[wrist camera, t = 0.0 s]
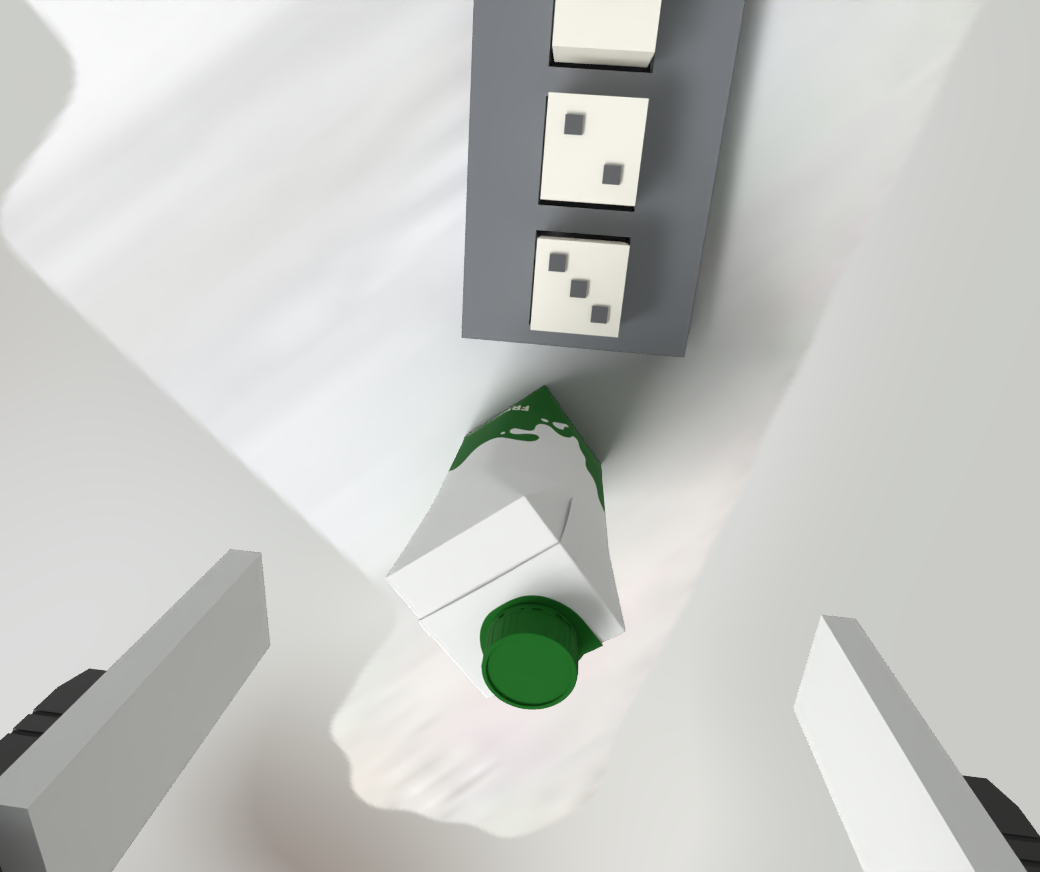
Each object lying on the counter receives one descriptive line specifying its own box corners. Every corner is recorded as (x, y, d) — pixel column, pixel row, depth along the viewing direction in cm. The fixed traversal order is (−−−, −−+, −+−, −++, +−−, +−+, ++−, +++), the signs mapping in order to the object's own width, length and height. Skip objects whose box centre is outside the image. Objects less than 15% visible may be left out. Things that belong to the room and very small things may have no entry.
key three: (540, 235, 36) (537, 238, 33) (625, 242, 36) (630, 245, 32) (534, 319, 38) (530, 330, 35) (614, 326, 38) (618, 338, 34)
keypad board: (482, -77, 33) (477, -94, 31) (748, -64, 32) (758, -80, 30) (466, 331, 40) (461, 337, 39) (679, 350, 40) (684, 357, 38)
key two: (551, 103, 34) (548, 91, 30) (641, 109, 33) (649, 97, 30) (543, 199, 36) (540, 198, 32) (629, 206, 35) (635, 205, 32)
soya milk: (518, 526, 45) (477, 750, 27) (445, 431, 43) (345, 602, 24) (619, 468, 43) (652, 669, 24) (547, 364, 41) (523, 497, 22)
